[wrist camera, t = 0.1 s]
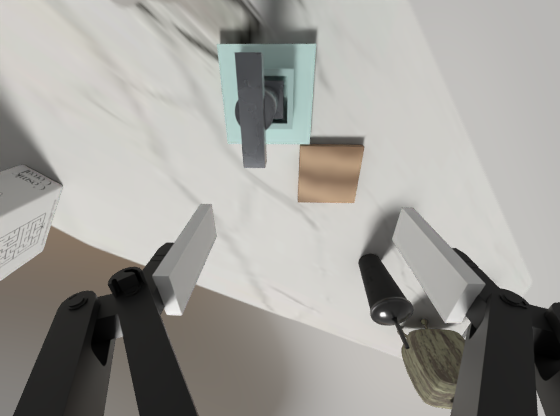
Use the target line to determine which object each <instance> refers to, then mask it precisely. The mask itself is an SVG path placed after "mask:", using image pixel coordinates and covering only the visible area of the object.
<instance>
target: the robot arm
mask: <svg viewBox="0 0 560 416" xmlns="http://www.w3.org/2000/svg"><path fill="white" fill-rule="evenodd" d="M216 237H217V234H216V228H215V222H214V216H213V210H212V204H200V206H199V207H198V209H197V210H196V212H195V213H194V215H193V216H192V218H191V219H190V221H189V222H188V223H187V225H186V226H185V228H184V229H183V231H182V232H181V234H180V235H179V237H178V238H177V240H176V241H175V243H165V244H164V245H163V246H161V247H160V248H159V249H158V250H157V252H156V253H155V254H154V256H153V257H152V258H151V260H150V261H149V262H148V264H147V265H146V266H145V268H144V269H143V270H141V269H140V268H138V267H129V268H125V269H122V270H120V271H119V272H117V273H115V274H114V275H113V276H112V277H111V278H110V280H109V281H108V286H109V288H110V290H111V292H112V294H110V295H105V296H100V297H97V295H96V294H95V293H94V292H93V291H82V292H79V293H76V294H74V295H72V296H71V297H69V298H67V299H66V300H65V301H64V302H63V303H62V304H61V305H60V307H59V308H58V310H57V313H56V315H55V318H54V320H53V322H52V324H51V327H50V329H49V332H48V334H47V336H46V339H45V341H44V343H43V346H42V348H41V351H40V353H39V355H38V358H37V360H36V363H35V365H34V367H33V370H32V372H31V374H30V377H29V379H28V381H27V384H26V386H25V388H24V391H23V393H22V396H21V398H20V400H19V403H18V405H17V407H16V410H15V412H14V415H13V416H104V410H105V403H106V397H107V390H108V384H109V378H110V371H111V364H112V359H113V352H114V346H115V340H116V338H119V337H123V339H124V344H125V349H126V353H127V358H128V363H129V368H130V372H131V377H132V382H133V386H134V391H135V396H136V401H137V405H138V410H139V415H140V416H199V415H198V412H197V409H196V407H195V404H194V401H193V399H192V396H191V394H190V391H189V389H188V386H187V383H186V381H185V378H184V375H183V373H182V370H181V368H180V365H179V362H178V360H177V357H176V355H175V352H174V349H173V347H172V344H171V342H170V339H169V337H168V334H167V331H166V329H165V326H164V323H163V321H162V319H161V316H160V314H161V313H162V311H163V309H164V308H165V311H166V314H167V315H182V314H183V311H184V309H185V307H186V305H187V302H188V300H189V298H190V296H191V293H192V291H193V289H194V287H195V284H196V282H197V280H198V278H199V275H200V273H201V271H202V269H203V266H204V264H205V262H206V259H207V257H208V255H209V253H210V250H211V248H212V246H213V244H214V241H215V239H216ZM392 241H393V242H394V244H395V245H396V247H397V248H398V250H399V252H400V253H401V255H402V256H403V258H404V259H405V261H406V263H407V264H408V266H409V267H410V269H411V270H412V272H413V274H414V275H415V277H416V278H417V280H418V282H419V283H420V285H421V286H422V288H423V289H424V291H425V293H426V294H427V296H428V297H429V299H430V300H431V302H432V304H433V305H434V307H435V308H436V310H437V311H438V313H439V315H440V316H441V318H442V319H443V321H444V322H445V323H461V322H462V320H463V319H464V317H465V316H467V318H468V319H469V320H470V322H471V323H470V325H469V326H468V328H467V329H466V331H465V332H464V334H463V335H462V337H464V338H465V336H466V340H465V345H464V350H463V355H462V360H461V365H460V370H459V375H458V380H457V385H456V390H455V395H454V400H453V405H452V410H451V415H450V416H538V413H537V395H536V390H537V393H538V396H539V398H540V401H541V404H542V407H543V409H544V412H545V415H546V416H560V302H558V303H553V304H552V305H551V307H550V308H549V309H545V308H541V307H537V306H533V305H529V303H528V302H527V301H526V300H525V299H523V298H522V297H521V296H519V295H518V294H516V293H514V292H512V291H509V290H506V289H500V288H499V287H498V286H497V285H496V284H495V283H494V282H493V281H492V280H491V279H490V278H489V277H488V276H487V275H486V274H485V273H484V272H483V271H482V270H481V269H479V268H478V266H477V265H476V264H475V263H473V261H472V260H471V259H470V258H469V257H468V256H467V255H466V254H464V253H463V252H461V251H460V250H458V249H457V248H451V247H450V246H449V245H448V244H447V243H446V242H445V241H444V240H443V239H442V238H441V237H440V235H439V234H438V233H437V232H436V231H435V230H434V229H433V228H432V227H431V226H430V225H429V224H428V223H427V222H426V221H425V220H424V219H423V218H422V216H421V215H420V214H419V213H418V212H417V211H416V210H415V209H414V208H402V209H401V212H400V215H399V219H398V222H397V225H396V228H395V232H394V235H393V238H392Z"/></svg>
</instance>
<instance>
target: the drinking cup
mask: <svg viewBox="0 0 560 416" xmlns="http://www.w3.org/2000/svg"><path fill="white" fill-rule="evenodd" d="M359 267H360V271H361V275H362V279H363V283H364V287H365V291H366V294H367V298H368V302H369V306H370V315H371V318H372V320H373V321H374V322H376V323H378V324H380V325H395V326H396V328H397V330H398V332H399V335H400V337H401V339H402V341H403V344H404V346H405V348H406V349H409V348H410V347H409V344H408V342H407V340H406V338H405V336H404V334H403V331H402V329H401V327H400V325H399V324H400V323H402V322H404V321H406V320H407V319H409V318H410V317H411V315H412V314H413V306H412V304H411V302H410V301H408V300H407V299H406V297H405V296H404V294H403V293H402V291H401V290H400V289H399V287H398V286H397V284H396V283H395V281H394V280H393V278H392V277H391V275H390V274H389V272H388V271H387V269H386V268H385V266H384V265H383V263H382V262H381V260H380V259H379V258H378V256H376V255H374V254H367V255H364V256H363V257H361V258H360V260H359Z"/></svg>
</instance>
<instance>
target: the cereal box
mask: <svg viewBox="0 0 560 416" xmlns="http://www.w3.org/2000/svg"><path fill="white" fill-rule="evenodd" d="M62 188H63V186H62V185H61V184H59V183H57V182H55V181H53V180H51V179H49V178H48V177H46V176H44V175H42V174H40V173H38V172H36V171H34V170H32V169H31V168H29V167H27V166H25V165H19V166H16V167H13V168H10V169H7V170H4V171H1V172H0V281H1V280H2V279H4V278H5V277H6V276H8V275H9V274H11V273H12V272H13V271H15V270H16V269H17V268H19V267H20V266H22V265H23V264H25V263H26V262H28V261H29V260H30V259H32V258H33V257H35V256H36V255H37V254H39V253H40V252H41V251H43V249H44V246H45V242H46V239H47V236H48V233H49V230H50V226H51V223H52V220H53V217H54V214H55V210H56V207H57V204H58V201H59V198H60V194H61V191H62Z"/></svg>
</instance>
